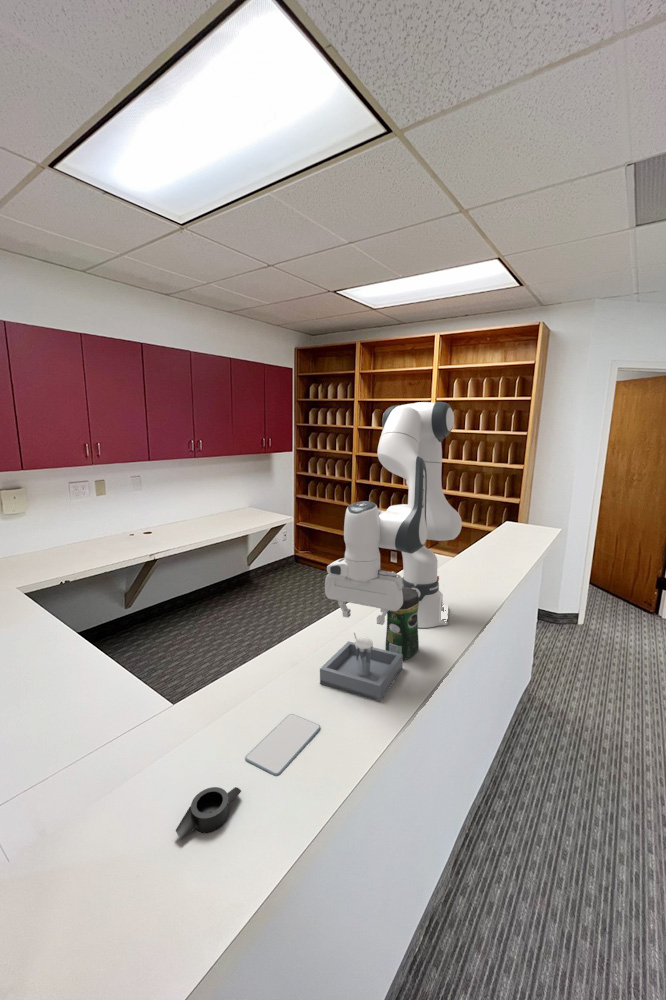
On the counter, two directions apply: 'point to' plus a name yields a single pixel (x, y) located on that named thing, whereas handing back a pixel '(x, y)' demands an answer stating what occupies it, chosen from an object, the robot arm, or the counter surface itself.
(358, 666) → the milkshake
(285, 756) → the smartphone
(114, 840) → the counter surface
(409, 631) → the coffee jar
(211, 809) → the black wing nut
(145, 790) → the counter surface
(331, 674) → the tray
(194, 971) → the counter surface
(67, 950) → the counter surface
